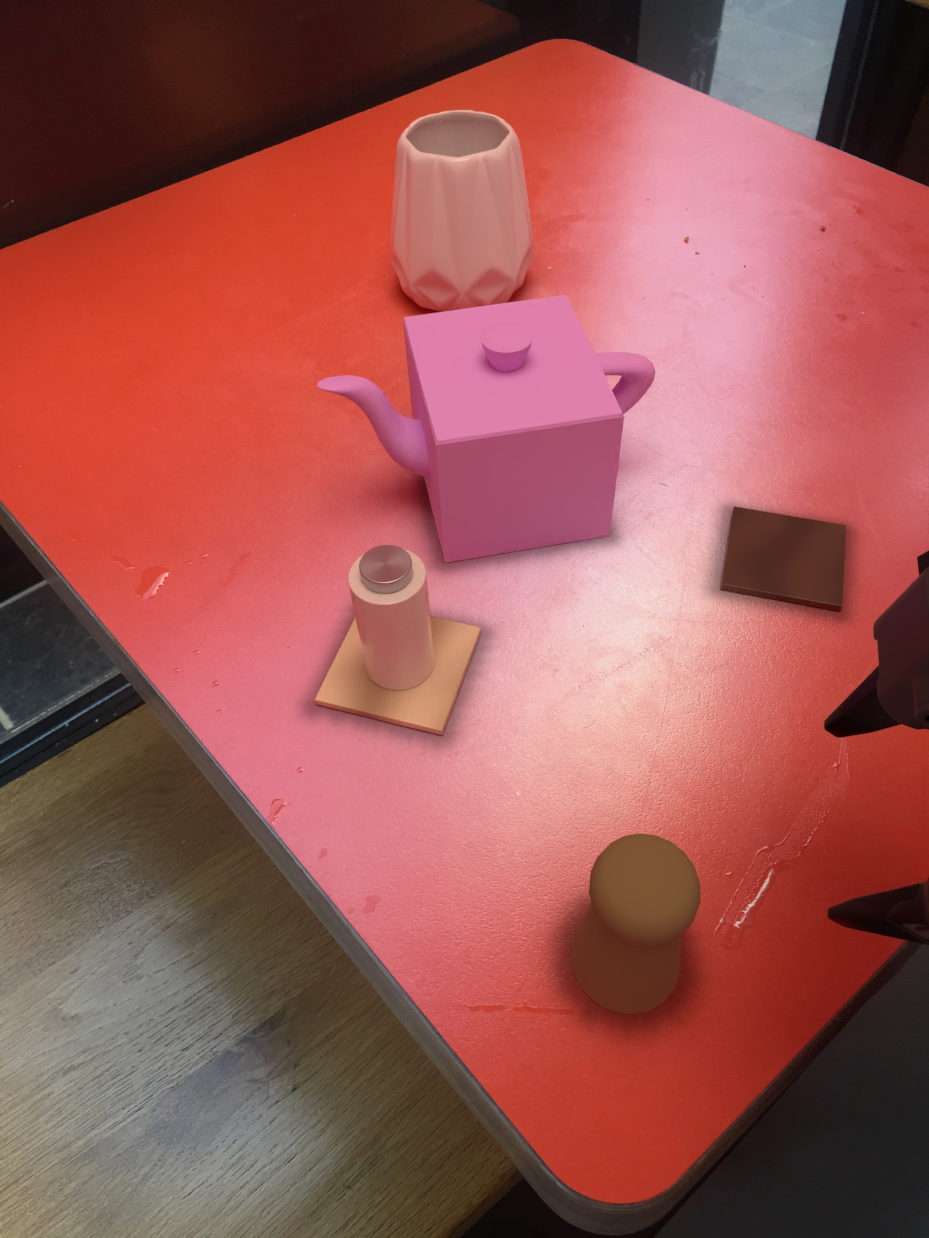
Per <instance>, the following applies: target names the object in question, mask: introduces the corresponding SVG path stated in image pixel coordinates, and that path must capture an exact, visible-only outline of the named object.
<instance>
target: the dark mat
mask: <svg viewBox="0 0 929 1238" xmlns="http://www.w3.org/2000/svg"><path fill="white" fill-rule="evenodd" d="M846 534H847V525H845V524H841V523H835V522H829V521H824V520H818V519H813V518H805V517H799V516H792V515H788V514H783V513H775V512H770V511H765V510H757V509H751V508H746V507H742V506H741V507H740V506H733V508H732V513H731V520H730V525H729V532H728V538H727V544H726V552H725V557H724V565H723V570H722V577H721V581H720V582H721V584H720V590H722V591H727V592H734V593H739V594H743V595H750V596H755V597H761V598H765V599H771V600H775V601H781V602H787V603H791V604H799V605H802V606H803V605H804V606H807V607H808V606H809V607H814V608H819V609H825V610H830V611H835V612H841V610H842V608H843V597H844V577H845V574H844V573H845V555H846V554H845V553H846Z"/></svg>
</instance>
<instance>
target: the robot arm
mask: <svg viewBox="0 0 929 1238" xmlns="http://www.w3.org/2000/svg"><path fill="white" fill-rule="evenodd" d="M916 562H917V571H918V577H916V579H914V581H912V582H911V584H909V585H908V587H907V588H906V589H905V590H904V591H903V592H902V593H900V595H899V596H898V597H897V598H896V599H895V600H894V601H893V602H892V603H891V605H889V606H888V607H887V608H886V609H885V611H883V612H882V613H881V615H879V617H877V619H876V620H875V621H874V622H873V625H872V626H873V627H872V628H873V631H872V633H873V639H874V640H875V641H876V642H877V644H876V645H877V655H878V656H877V658H878V665H877V666H876V667H875V668H874V669H873V670H872V671H871V673H870V674H868V675H867V676H866V678H865V679H863V681H861V682H860V684H858V685H857V686H856V688H855V689H854V690H853V691H851V693H850V694H849V695H848V696H847V697H846V698H845V699H844V700H843V701H842V702H841V703H839V705H838V706H837V707H836V708H835V709H834V710H833V711H832V712H831V713H830V714H829V715H828V716H827V717H826V718H825V720H824V721H823V730H824V731H826V732H827V733H829V734H830V735H832V736H834V737H835V738H838V739H839V738H840V739H842V738H847V737H853V736H859V735H866V734H871V733H874V732H876V733H877V732H879V731H883V730H887V729H889V728H894V727H897V726H900V725H903V726H905V727H908V728H911V729H913V730H917V731H918V730H928V731H929V550H927V551H925V552H923V553H921V554H919V555H918V556H917V557H916ZM826 913H827V919H828V920H830V921H831V922H833V923H834V924H837V925H839V926H841V927H843V928H846V929H851V930H855V931H860V932H865V933H870V934H874V935H879V936H884V937H889V938H893V939H899V940H902V941H906V942H910V943H911V942H913V943H917V944H921V945H927V946H929V876H928V877H927V879H926V880H925V881H923V882H918V883H914V884H910V885H904V886H901V887H896V888H892V889H888V890H883V891H879V892H875V893H869V894H865V895H862V896H858V897H857V896H856V897H853V898H850V899H847V900H844V901H842V902H840V903H837V904H835V905H832V906H830V907H829V908H827V911H826Z"/></svg>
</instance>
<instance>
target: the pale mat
mask: <svg viewBox="0 0 929 1238" xmlns="http://www.w3.org/2000/svg"><path fill="white" fill-rule="evenodd" d="M430 616H431V615H430ZM431 626H432V637H433V647H434V657H435V663H434V667H433V670H432V672H431V674H430V675H429V677H428V678H427V679H426V680H425V681H423V682H422V683H421V684H419V685H417V686H415V687H413V688H410V689H406V690H389V689H386V688H383V687H380V686H379V685H377V684H376V683H374V682H373V681H372V680H371V679H370V677H369V676H368V674H367V672H366V669H365V664H364V659H363V653H362V648H361V643H360V638H359V633H358V628H357V623H356V618H355V617H354V619H353V621H352V623H351V625H350V626H349V629H348V631H347V633H346V635H345V637H344V639H343V641H342V643H341V644H340V646H339V649H338V651H337V653H336V655H335V657H334V659H333V662H332V663H331V664H330V665H331V666H330V667H329V669H328V671H327V674H326V676H325V677H324V679H323V682H322V684H321V686H320V687H319V690H318V692H317V694H316V696H315V697H314V702H315V705H318V706H322V707H326V708H331V709H334V710H338V711H341V712H346V713H350V714H354V715H358V716H362V717H366V718H370V719H375V720H378V721H382V722H387V723H390V724H393V725H394V724H395V725H399V726H403V727H405V728H411V729H415V730H418V731H423V732H427V733H431V734H435V735H439V736H442V735H443V734H444V731H445V729H446V726H447V724H448V721H449V718H450V716H451V713H452V711H453V707H454V705H455V703H456V700H457V698H458V694H459V692H460V690H461V687H462V684H463V682H464V679H465V676H466V673H467V671H468V669H469V666H470V664H471V660H472V658H473V655H474V652H475V649H476V648H477V644H478V642H479V639H480V637H481V634H482V626H478V625H472V624H468V623H463V622H458V621H455V620H450V619H445V618H440V617H436V616H431Z"/></svg>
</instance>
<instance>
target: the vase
mask: <svg viewBox="0 0 929 1238" xmlns="http://www.w3.org/2000/svg"><path fill="white" fill-rule="evenodd" d="M521 147H522V146H521V143H520V139H519V137H518V134H517V133H516V131H515V130H514V128H513V127H512V126H511V124H510V123H508V122H507V121H506V120H505V119H504V118H502V117H500V116H498V115H496V114H493V113H489V112H486V111H475V110H473V109H452V110H451V109H450V110H443V111H440V112H437V113H436V112H435V113H430V114H426V115H423V116H420V117H418V118H416V119H414V120H413V121H411V122H410V124H408V126H407V127H406V128H405V129H404V130H403V131H402V133H401V135H400V136H399V138H398V140H397V143H396V150H395V162H394V174H393V175H394V177H393V188H392V189H393V190H392V204H391V223H390V263H391V264H390V265H391V267H392V269H393V271H394V273H395V275H396V276H397V278H398V282H399V284H400V288H401V290H402V291H403V293H404V294H405V295H406V296H407V297H408V298H410V300H412V301H413V302H414V303H415V304H416V305H417V306H419V307H421V308H423V309H428V310H432V311H435V312H445V311H452V310H459V309H466V308H473V307H480V306H487V305H494V304H501V303H508V302H509V301H510V299H511V298H512V295H513V294H514V293H515V292H516V291H518V289H520V288H521V287H522V286H523V284H524V281H525V278H526V274H527V272H528V271H529V269H530V267H531V265H532V263H533V261H534V258H535V251H534V250H535V247H534V233H533V225H532V217H531V216H532V215H531V209H530V202H529V195H528V187H527V180H526V174H525V166H524V160H523V153H522V148H521Z"/></svg>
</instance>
